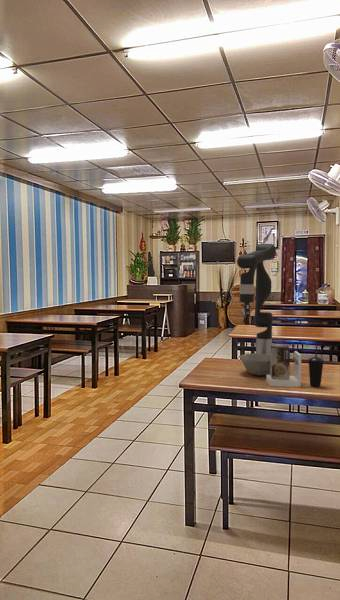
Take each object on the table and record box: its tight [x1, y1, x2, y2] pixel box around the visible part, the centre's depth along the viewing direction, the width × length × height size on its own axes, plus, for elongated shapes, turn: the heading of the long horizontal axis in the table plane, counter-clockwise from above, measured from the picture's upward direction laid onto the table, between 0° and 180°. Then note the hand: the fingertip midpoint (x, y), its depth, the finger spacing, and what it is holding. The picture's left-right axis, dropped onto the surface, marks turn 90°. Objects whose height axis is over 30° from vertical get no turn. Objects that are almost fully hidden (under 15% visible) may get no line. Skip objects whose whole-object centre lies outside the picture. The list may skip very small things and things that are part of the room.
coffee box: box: [269, 345, 291, 379], centre depth 217 cm, size 9×6×16 cm
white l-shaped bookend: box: [265, 350, 302, 388], centre depth 217 cm, size 12×15×16 cm
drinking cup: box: [307, 346, 325, 388], centre depth 212 cm, size 8×8×20 cm
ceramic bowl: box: [238, 352, 270, 376], centre depth 238 cm, size 22×23×10 cm
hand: (246, 323), depth 222 cm, fingers open, 8 cm apart
